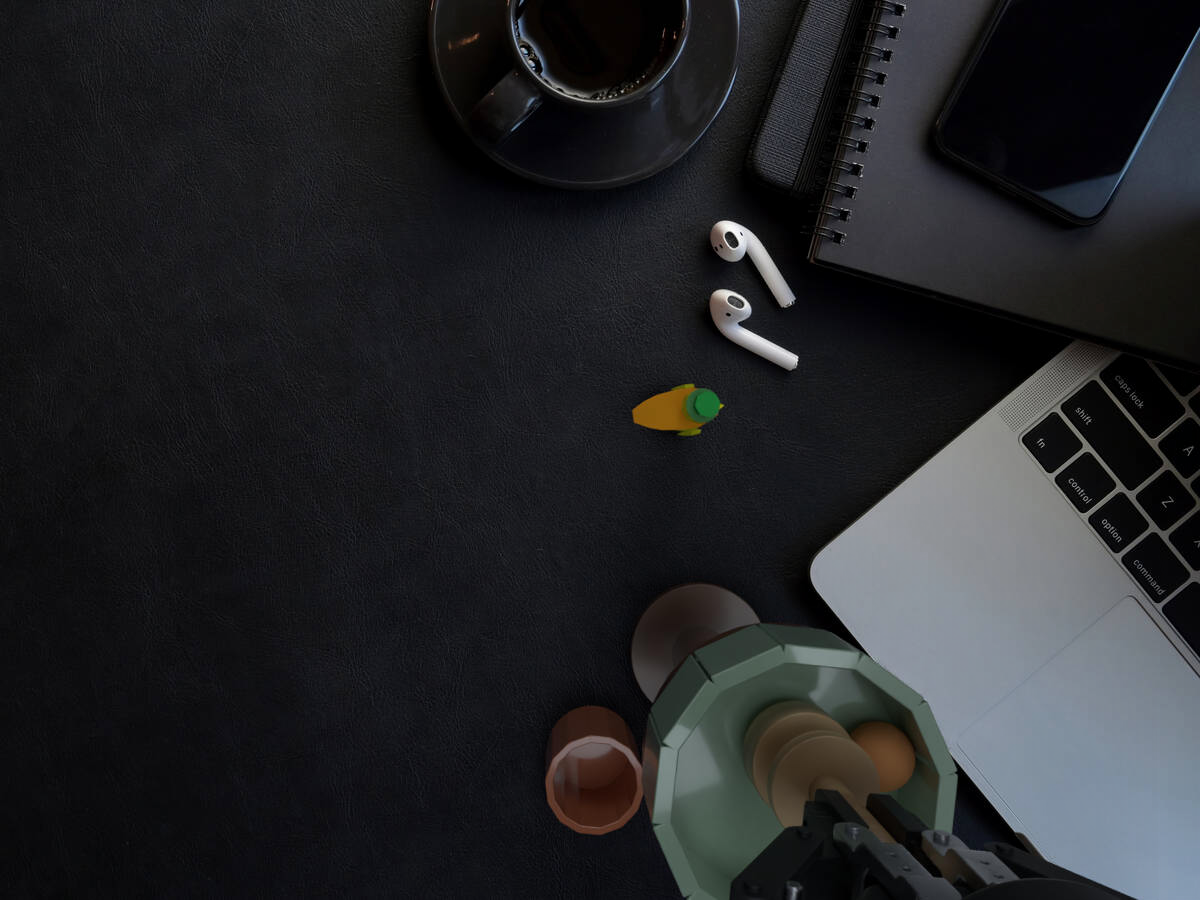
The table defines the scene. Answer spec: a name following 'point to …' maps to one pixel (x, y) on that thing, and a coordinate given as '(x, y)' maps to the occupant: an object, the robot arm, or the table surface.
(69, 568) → the table surface
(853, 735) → the ball
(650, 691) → the brown pedestal stand
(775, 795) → the beige plunger
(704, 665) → the green bowl
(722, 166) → the table surface
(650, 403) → the toy figure
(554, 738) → the holder
